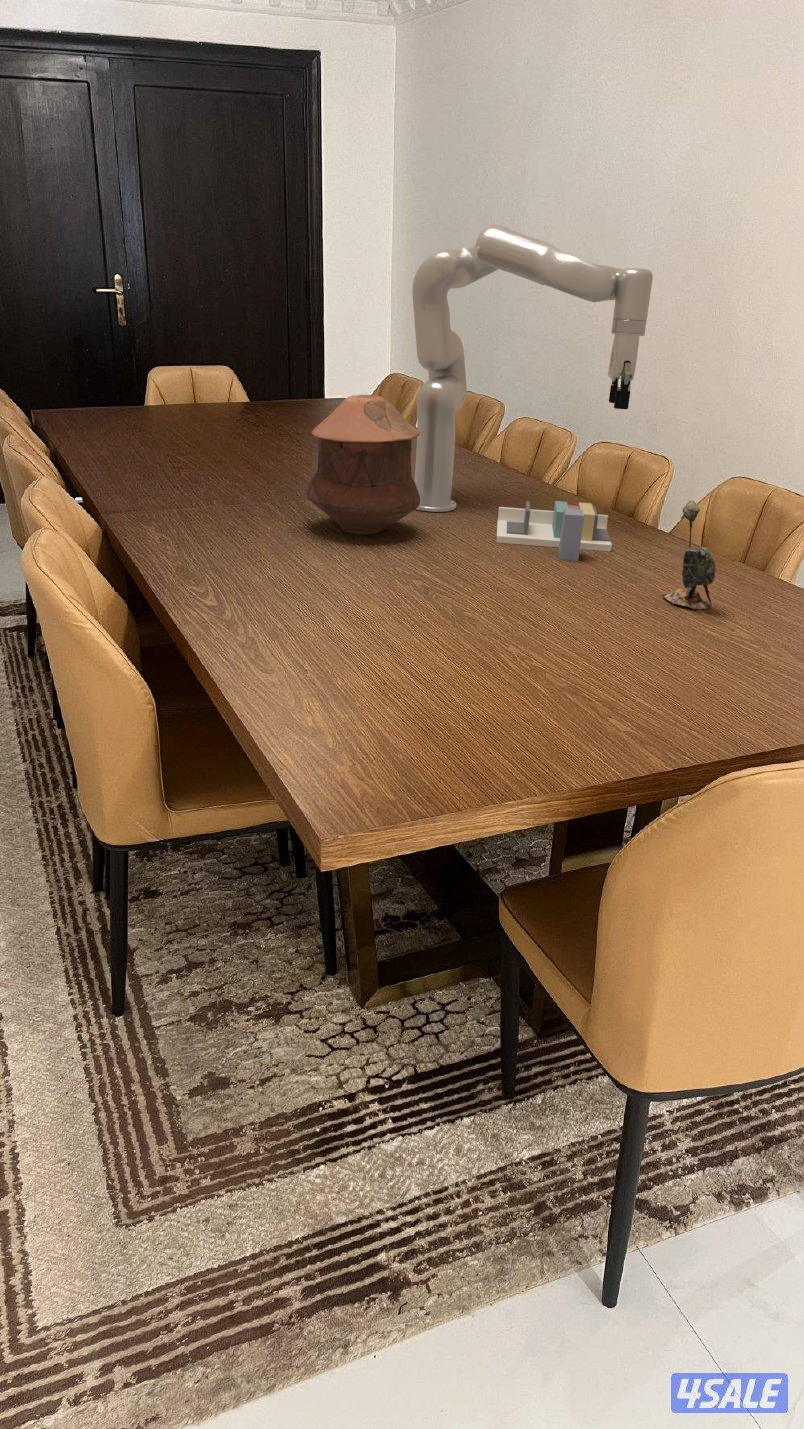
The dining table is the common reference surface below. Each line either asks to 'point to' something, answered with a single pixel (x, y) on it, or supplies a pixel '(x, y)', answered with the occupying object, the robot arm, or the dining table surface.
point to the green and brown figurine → (694, 570)
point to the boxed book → (571, 534)
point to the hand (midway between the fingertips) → (618, 405)
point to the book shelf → (551, 526)
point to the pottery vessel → (364, 465)
